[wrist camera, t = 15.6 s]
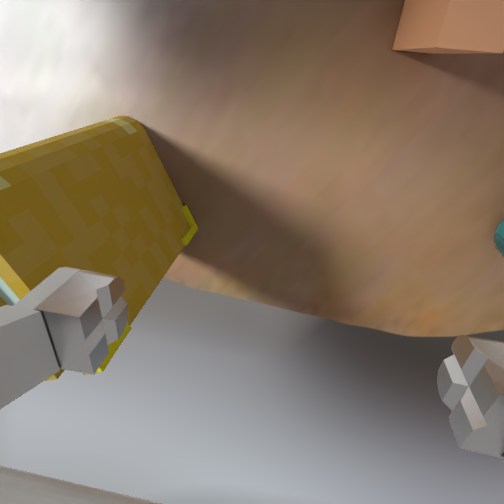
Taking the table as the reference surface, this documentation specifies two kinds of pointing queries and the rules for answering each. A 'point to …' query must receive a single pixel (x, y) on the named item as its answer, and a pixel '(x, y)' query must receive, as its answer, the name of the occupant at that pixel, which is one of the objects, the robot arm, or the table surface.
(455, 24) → the block
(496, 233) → the beverage bottle
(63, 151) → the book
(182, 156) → the table surface
